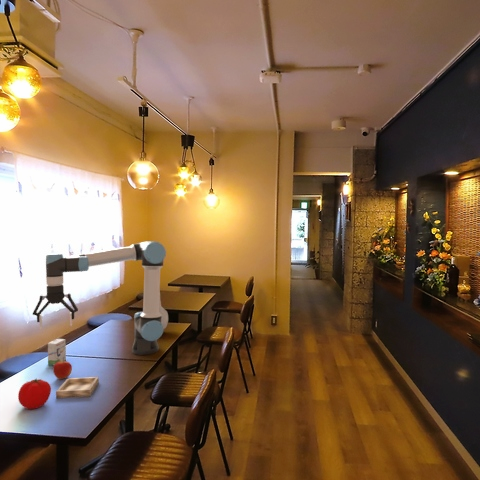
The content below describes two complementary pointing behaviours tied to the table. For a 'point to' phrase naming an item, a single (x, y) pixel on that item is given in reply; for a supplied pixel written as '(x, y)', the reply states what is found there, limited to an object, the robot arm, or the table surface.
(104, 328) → the table surface
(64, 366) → the apple
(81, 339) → the table surface
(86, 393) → the tray
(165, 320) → the vase
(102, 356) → the table surface
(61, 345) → the ink box
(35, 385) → the tomato
